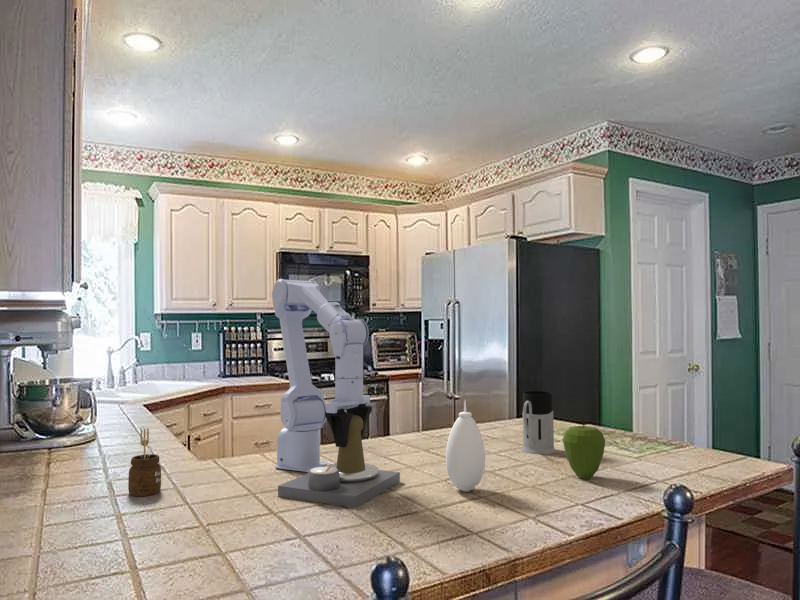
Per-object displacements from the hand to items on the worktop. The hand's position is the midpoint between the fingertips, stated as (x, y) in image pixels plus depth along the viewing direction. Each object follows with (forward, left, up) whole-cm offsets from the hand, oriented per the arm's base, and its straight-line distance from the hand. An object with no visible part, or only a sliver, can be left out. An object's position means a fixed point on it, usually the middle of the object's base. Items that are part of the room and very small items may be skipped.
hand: (349, 443), depth 120 cm
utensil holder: (-34, -22, -9) cm, 41 cm away
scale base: (0, -3, -8) cm, 9 cm away
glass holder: (+28, +46, -9) cm, 55 cm away
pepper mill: (0, 0, -5) cm, 5 cm away
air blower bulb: (+23, +6, -9) cm, 25 cm away
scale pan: (0, 0, -6) cm, 6 cm away
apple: (+43, +26, -9) cm, 51 cm away
